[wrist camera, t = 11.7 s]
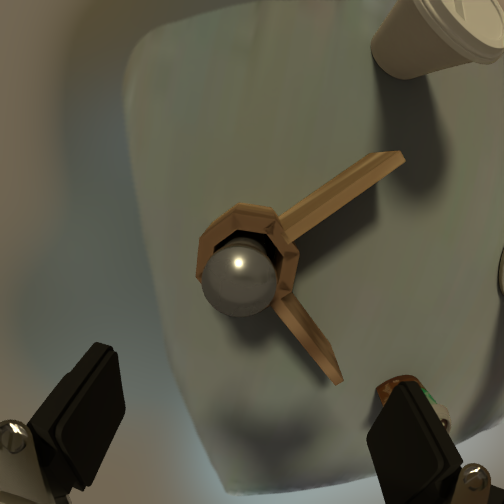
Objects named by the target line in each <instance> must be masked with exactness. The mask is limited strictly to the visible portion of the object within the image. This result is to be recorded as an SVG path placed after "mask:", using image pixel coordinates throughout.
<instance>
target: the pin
mask: <svg viewBox="0 0 504 504" xmlns="http://www.w3.org/2000/svg"><path fill="white" fill-rule="evenodd" d="M201 283H202V289H203V292H204V295H205V297H206V299H207V300H208V302H209V303H210V304H211V305H212V306H213V307H214V308H215V309H216V310H218V311H220V312H221V313H224V314H226V315H229V316H233V317H246V316H251V315H254V314H256V313H258V312H260V311H262V310H263V309H264V308H266V307H267V306H268V305H269V303H270V302H271V300H272V299H273V297H274V295H275V291H276V286H277V280H276V274H275V269H274V266H273V264H272V262H271V260H270V259H269V257H268V256H267V254H266V244H265V237H264V235H263V233H257V232H251V231H244V230H238V229H237V230H236V231H234V232H233V233H232V234H230V235H229V236H227V237H226V239H225V241H224V244H223V246H222V248H220V249H219V250H217V251H216V252H215V253H214V254H213V255H212V256H211V257H210V259H209V260H208V262H207V264H206V266H205V268H204V270H203V273H202V282H201Z"/></svg>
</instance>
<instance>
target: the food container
mask: <svg viewBox="0 0 504 504" xmlns="http://www.w3.org/2000/svg"><path fill="white" fill-rule="evenodd" d="M401 381H416V382H417V383H418V384H419V386H420V387H421V389H422V391H423V392H424V394H425V395H426V397H427V399H428V400H429V402H430V404H431V405H432V407H433V409H434V410H435V412H436V414H437V415H438V417H439V419H440V420H441V422H442V424H443V426H444V427H445V429H446V431H447V433H448V434H449V433H450V430H451V419H450V415H449V412H448V409H447V408H446V407H445V406H443V405H440V404H437V403H436V402H435V400H434V399H433V398H432V397H431V395H430V394H429V393H428V391H427V390H426V389H425V388H424V386H423V385H422V384H421V383H420V381H419V380H418V379H417V378H416V377H414V376H412V375H402V376H397V377H394V378H392V379H389V380H387V381H385V382H384V383H382V384H381V385H379V386H378V387H377V388H376V390H377V392H378V395H379V397H380V400H381V402H382V405H383V407H384V405H385V403H386V401H387V400H388V398H389V396H390V394H391V392H392V390H393V388H394V387H395V386H396V385H398V384H399V383H400V382H401Z"/></svg>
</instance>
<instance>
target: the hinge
mask: <svg viewBox="0 0 504 504" xmlns="http://www.w3.org/2000/svg"><path fill="white" fill-rule="evenodd" d="M405 161H406V160H405V158H404V157H403V155H402V153H401V151H388V152H377V153H369V154H368V155H366V156H365V157H363V158H362V159H361V160H359V161H358V162H356V163H355V164H353V165H352V166H350V167H349V168H347V169H346V170H345V171H343V172H342V173H340V174H339V175H337V176H336V177H334V178H333V179H332V180H330V181H329V182H327V183H326V184H324V185H323V186H322V187H320V188H319V189H317V190H316V191H314V192H313V193H311V194H310V195H309V196H307V197H306V198H304V199H303V200H301V201H300V202H299V203H297V204H296V205H294V206H293V207H292V208H290V209H289V210H287V211H286V212H284V213H283V214H282V215H280V216H279V217H278V216H277V214H276V213H275V212H274V210H273V209H272V208H271V207H265V206H258V205H252V204H245V203H237V204H236V205H235V206H233V207H232V208H231V209H229V210H228V211H227V212H225V213H224V214H223V215H221V216H220V217H219V218H217V219H216V220H215V221H213V222H212V223H211V225H210V226H209V227H208V228H207V229H206V231H205V232H204V233H203V234H202V236H201V237H200V239H199V248H198V258H197V268H196V278H197V279H198V280H199V282H200V283H201V282H202V273H203V270H204V268H205V266H206V264H207V262H208V260H209V259H210V257H211V256H212V255H213V254H214V253H215V252H216V251H217V250H219V249H220V248H221V246H222V240H223V239H225V238H226V237H227V236H229V235H230V234H232V233H233V232H234V231H236V230H237V229H238V230H244V231H251V232H257V233H264V234H267V235H268V236H269V238H270V239H271V240H272V242H273V243H274V245H275V246H276V250H275V256H274V258H273V259H272V260H271V262H272V264H273V266H274V269H275V274H276V280H277V286H276V291H275V295H274V297H273V299H272V300H271V302H270V303H269V305H268V306H267V307H269V306H271V307H272V308H273V309H274V311H275V312H276V313H277V314H278V316H279V317H280V318H281V319H282V321H283V322H284V323H285V324H286V326H287V327H288V328H289V329H290V331H291V332H292V333H293V334H294V336H295V337H296V338H297V339H298V340H299V342H300V343H301V344H302V345H303V347H304V348H305V349H306V350H307V352H308V353H309V354H310V355H311V357H312V358H313V359H314V360H315V361H316V363H317V364H318V365H319V366H320V368H321V369H322V370H323V371H324V372H325V374H326V375H327V376H328V377H329V378H330V380H331V381H332V382H333V383H334V385H335V386H336V385H338V384H339V383H341V382H343V381H344V380H343V377H342V374H341V371H340V369H339V366H338V363H337V360H336V358H335V355H334V352H333V350H332V347H331V344H330V343H329V341H328V340H327V339H326V337H325V336H324V335H323V333H322V332H321V331H320V329H319V328H318V327H317V325H316V324H315V323H314V321H313V320H312V318H311V317H310V316H309V314H308V313H307V312H306V310H305V309H304V308H303V306H302V305H301V304H300V302H299V301H298V300H297V298H296V297H295V296H294V294H293V293H292V288H293V284H294V279H295V274H296V270H297V265H298V260H299V255H300V253H299V250H298V248H297V246H296V244H295V242H294V240H295V239H297V238H298V237H300V236H301V235H302V234H304V233H305V232H307V231H308V230H310V229H311V228H312V227H314V226H315V225H317V224H318V223H320V222H321V221H322V220H324V219H325V218H327V217H328V216H330V215H331V214H332V213H334V212H335V211H337V210H338V209H340V208H341V207H342V206H344V205H345V204H347V203H348V202H349V201H351V200H352V199H354V198H355V197H356V196H358V195H359V194H361V193H362V192H364V191H365V190H366V189H368V188H369V187H371V186H372V185H373V184H375V183H376V182H378V181H379V180H380V179H382V178H383V177H385V176H386V175H387V174H389V173H390V172H392V171H393V170H394V169H396V168H397V167H398V166H400V165H401V164H403V163H404V162H405ZM201 284H202V283H201ZM267 307H266V308H267ZM264 309H265V308H264ZM264 309H263V310H264ZM260 312H261V311H260Z"/></svg>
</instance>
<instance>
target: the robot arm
mask: <svg viewBox="0 0 504 504" xmlns="http://www.w3.org/2000/svg"><path fill="white" fill-rule="evenodd" d="M499 284H500V289H501V292H502V294H503V295H504V250H503V254H502V257H501V262H500V269H499ZM125 408H126V407H125V401H124V395H123V389H122V382H121V375H120V368H119V361H118V354H117V352H115V351H114V350H113V347H112V346H109V345H106V344H102V343H99V342H95V343H94V344H93V345H92V346H91V347H90V349H89V350H88V351H87V352H86V353H85V355H84V356H83V357H82V358H81V360H80V361H79V362H78V363H77V364H76V366H75V367H74V368H73V370H72V371H71V372H69V373H67V374H66V375H65V376H64V377H63V378H62V379H61V381H60V382H59V383H58V385H57V386H56V387H55V388H54V389H53V391H52V392H51V393H50V395H49V396H48V397H47V398H46V400H45V401H44V402H43V404H42V405H41V406H40V407H39V409H38V410H37V411H36V413H35V414H34V415H33V417H32V418H31V419H30V421H29V422H28V423H27V425H25V424H23V423H22V422H20V421H17V420H5V421H2V422H0V504H72V502H71V500H70V497H69V495H68V494H69V493H70V491H71V489H72V487H74V488H76V489H78V490H81V491H84V489H85V487H86V486H88V487H89V486H91V485H92V483H93V480H94V478H95V476H96V474H97V472H98V469H99V467H100V465H101V463H102V461H103V459H104V457H105V454H106V452H107V450H108V448H109V446H110V444H111V441H112V439H113V437H114V435H115V433H116V431H117V429H118V427H119V425H120V423H121V421H122V419H123V417H124V414H125ZM366 441H367V445H368V448H369V451H370V454H371V457H372V460H373V464H374V467H375V470H376V473H377V476H378V480H379V483H380V487H381V490H382V493H383V496H384V500H385V504H504V489H501V488H498V487H496V486H493V485H491V477H490V474H489V472H488V471H487V469H486V468H484V467H483V466H481V465H480V464H476V463H471V464H467V465H465V466H464V467H463V468H461V466H460V465H461V464H462V463H463V460H462V458H461V456H460V454H459V452H458V450H457V449H456V447H455V445H454V443H453V441H452V440H451V438H450V436H449V434H448V433H447V431H446V429H445V427H444V426H443V424H442V422H441V420H440V419H439V417H438V415H437V414H436V412H435V410H434V409H433V407H432V405H431V404H430V402H429V400H428V399H427V397H426V395H425V394H424V392H423V391H422V389H421V387H420V386H419V384H418V383H417V382H416V381H401V382H400V383H399V384H398V385H396V386H395V387H394V388H393V390H392V392H391V394H390V396H389V398H388V400H387V401H386V403H385V405H384V407H383V409H382V410H381V412H380V414H379V416H378V417H377V419H376V421H375V422H374V424H373V426H372V427H371V429H370V431H369V432H368V434H367V438H366Z"/></svg>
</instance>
